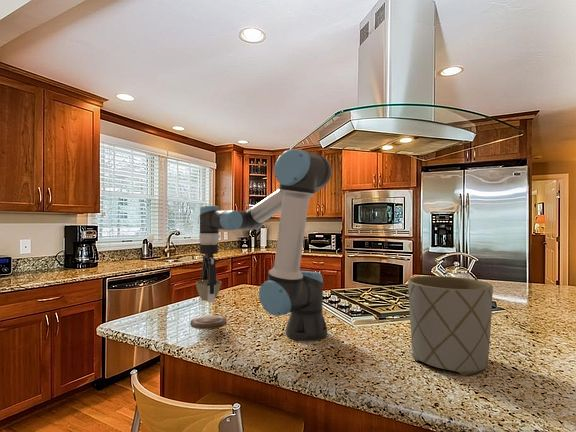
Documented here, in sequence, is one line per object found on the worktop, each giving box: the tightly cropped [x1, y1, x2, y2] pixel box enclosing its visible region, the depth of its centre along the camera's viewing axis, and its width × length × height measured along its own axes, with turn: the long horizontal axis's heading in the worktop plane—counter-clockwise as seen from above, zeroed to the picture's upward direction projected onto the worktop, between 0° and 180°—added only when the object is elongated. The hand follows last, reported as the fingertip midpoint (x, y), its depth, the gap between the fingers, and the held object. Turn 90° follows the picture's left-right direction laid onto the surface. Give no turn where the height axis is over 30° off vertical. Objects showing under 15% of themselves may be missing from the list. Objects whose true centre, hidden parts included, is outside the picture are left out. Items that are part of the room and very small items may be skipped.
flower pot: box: [195, 279, 222, 302], centre depth 140 cm, size 10×10×7 cm
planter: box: [407, 275, 494, 377], centre depth 103 cm, size 23×23×24 cm
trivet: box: [190, 314, 227, 329], centre depth 139 cm, size 14×14×2 cm
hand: (208, 298), depth 140 cm, fingers closed on flower pot, 10 cm apart
